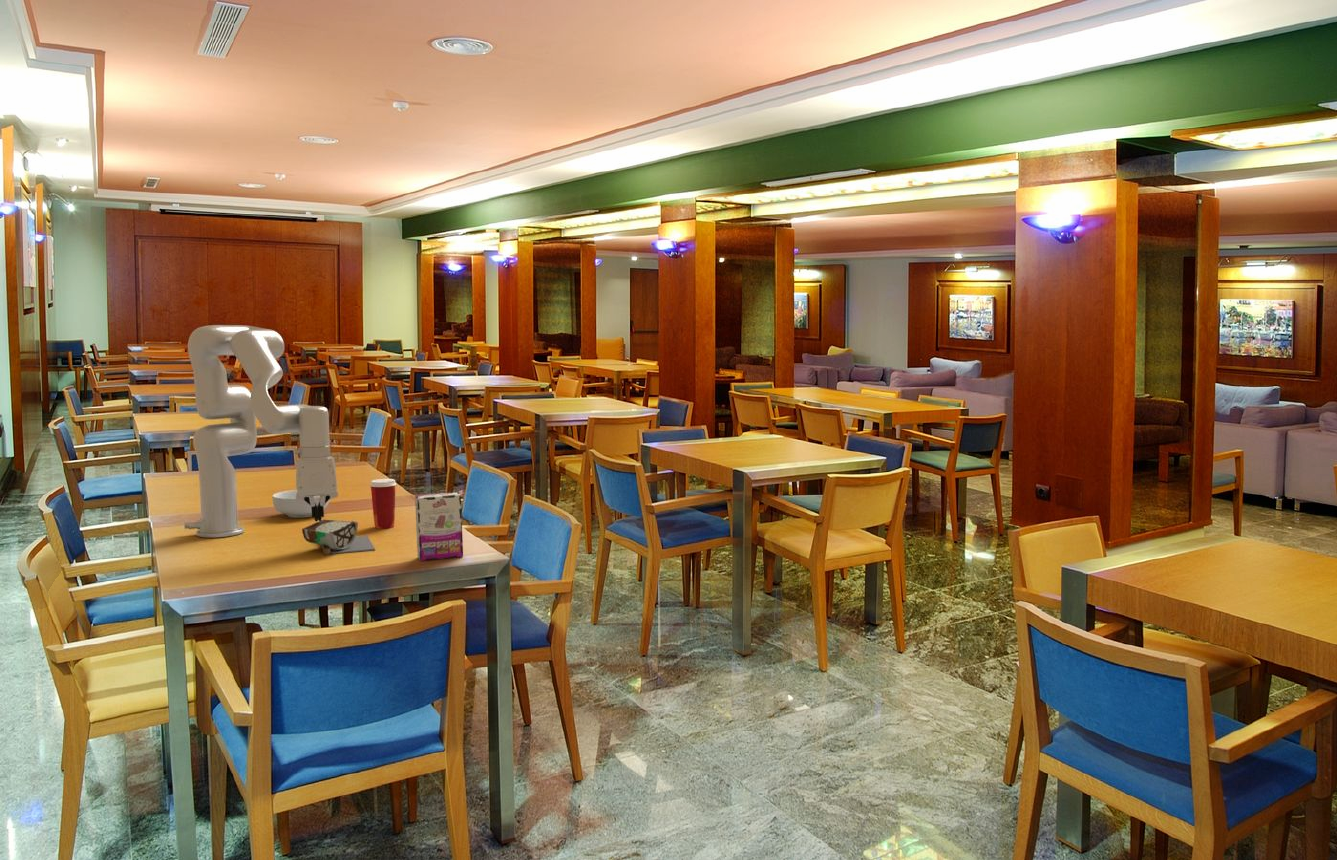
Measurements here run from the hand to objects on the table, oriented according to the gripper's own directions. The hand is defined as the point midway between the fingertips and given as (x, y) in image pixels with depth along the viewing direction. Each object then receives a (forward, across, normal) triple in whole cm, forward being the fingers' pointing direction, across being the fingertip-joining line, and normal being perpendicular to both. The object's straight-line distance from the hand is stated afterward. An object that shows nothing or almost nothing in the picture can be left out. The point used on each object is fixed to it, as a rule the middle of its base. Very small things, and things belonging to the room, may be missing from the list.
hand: (318, 520), depth 262 cm
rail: (+8, +2, 0) cm, 8 cm away
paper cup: (+8, +20, +22) cm, 30 cm away
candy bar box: (+8, +28, -24) cm, 38 cm away
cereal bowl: (+8, -2, +51) cm, 52 cm away
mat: (+8, +8, 0) cm, 11 cm away
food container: (+4, -2, 0) cm, 4 cm away
